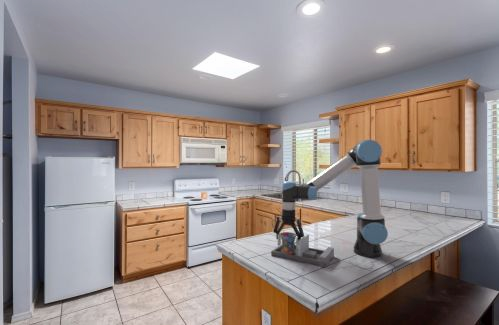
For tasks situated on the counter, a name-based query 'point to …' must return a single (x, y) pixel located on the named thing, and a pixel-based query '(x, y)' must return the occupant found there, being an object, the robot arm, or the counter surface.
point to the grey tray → (320, 260)
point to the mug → (288, 242)
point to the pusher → (305, 248)
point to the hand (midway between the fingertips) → (288, 247)
